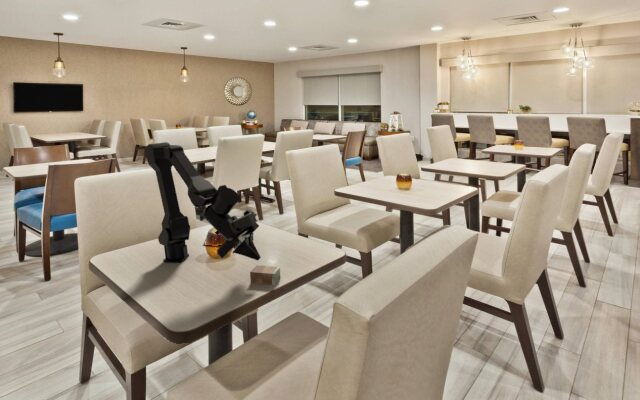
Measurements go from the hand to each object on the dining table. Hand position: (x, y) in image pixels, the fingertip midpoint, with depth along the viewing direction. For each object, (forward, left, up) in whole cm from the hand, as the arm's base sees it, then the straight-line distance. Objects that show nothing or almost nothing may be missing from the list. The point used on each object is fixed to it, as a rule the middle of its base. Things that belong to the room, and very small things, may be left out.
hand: (259, 259), depth 123 cm
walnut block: (-2, 0, -5) cm, 5 cm away
